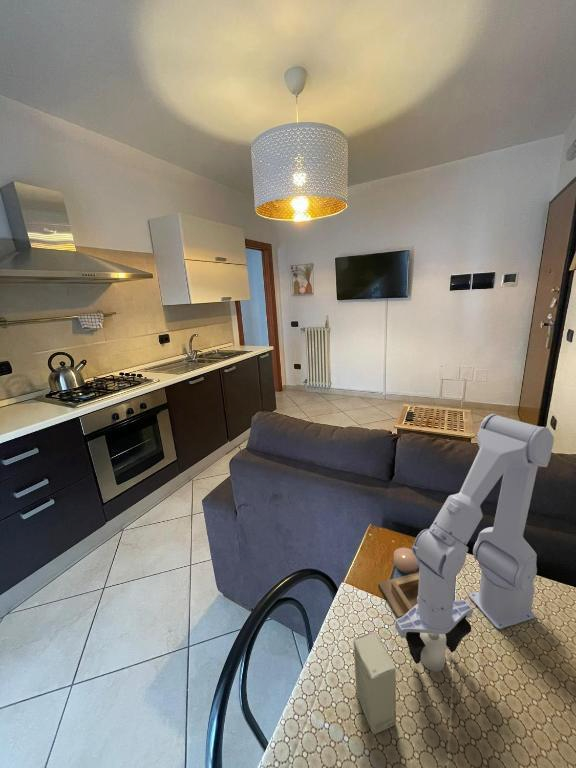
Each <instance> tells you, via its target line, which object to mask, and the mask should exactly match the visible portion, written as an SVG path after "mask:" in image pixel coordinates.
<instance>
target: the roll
mask: <svg viewBox="0 0 576 768" xmlns="http://www.w3.org/2000/svg"><path fill="white" fill-rule="evenodd" d="M420 637H421V639H422V640H423V642H424V644H425V645H426V646H425V647H424V648H423V649H422V652H421V660H420V663H421V664H422V665H423V667H425V668H426V669H427V670H429V671H430V672H434V673H439V672H441V671H443V669H444V668H445V664H446V663H445V661H446V649H447V645H446V635H445V634H432V633H420Z"/></svg>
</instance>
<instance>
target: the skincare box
mask: <svg viewBox="0 0 576 768" xmlns="http://www.w3.org/2000/svg"><path fill="white" fill-rule="evenodd" d="M353 653H354V654H353V655H354V656H353V657H354V658H353V659H354V673H355V674H354V675H355V694H356V696H357V699H358V702H359V704H360V706H361V709H362V711H363V714H364V716H365V718H366V721H367V723H368V726H369V727H370V730H371V732H372V734H373V735H376V734H378V733H381V732H383V731H385V730H387V729H389V728H391V727H393V726H396V724H397V700H396V699H397V697H396V696H397V695H396V694H397V693H396V690H397V688H396V687H397V686H396V681H397V680H396V666H395V664H394V662H393V660H392V658H391V657H390V655H389V652H388V651H387V649H386V647H385V646H384V644H383V642H382V641H381V638H380V637H379V636H378V634H377V632H375V631H372V632H371V633H367V634H365V635H362V636H359V637H356V638H354V639H353Z"/></svg>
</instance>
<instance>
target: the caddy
mask: <svg viewBox="0 0 576 768" xmlns="http://www.w3.org/2000/svg"><path fill="white" fill-rule="evenodd" d="M377 586H378V588H379V590H380V591H381V593H382V595H383V597H384V599H385V600H386V602H387V604H388V605H389V607H390V609H391V610H392V612H393V613H394V616H395V618H396V619H398V618H399V617H400V616H403V615H405V614H406V613H407V612H408V611H409V610H411V609H412V608H413V607H414V606H415V605H416V604H418V601H417V596H418V586H419V571H416V572H415V573H411V574H407V575H402V576H399V577H395V578H390V579H388V580H383V581H380V582H378V585H377Z"/></svg>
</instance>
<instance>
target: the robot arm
mask: <svg viewBox="0 0 576 768" xmlns="http://www.w3.org/2000/svg"><path fill="white" fill-rule="evenodd" d="M476 435H477V436H476V439H477V440H476V441H477V445H478V447H479V449H478V452H477V454H476V455H475V458H474V460H473V463H472V465H471V467H470V469H469V470H468V473H467V475H466V477H465V479H464V482H463V484H462V486H461V488H460V491H459V492H458V493H455V494H450V495H448V497H447V498H446V500H445V502H444V504H443V505H442V507H441V509H440V511H439V512H438V513H437V515H436V517H435V518H434V521H433V523H432V524H431V525H430V527H429V528H424V529H423V530H421V531H420V532H419V533H418V534H417V536H416V537H415V540H414V542H413V545H412V547H411V550H412V552H413V554H414V556H416V559H417V561H416V564H418V572H419V586H418V596H417V601H418V604H416V605H415V606H414V607H413V608H412V609H411V610H409V611H408V612H407V613H406V614H405V615H403V616H400V617H399V618H398V619H397V618H395V624H394V625H395V629H396V631H397V633H398V635H399V637H400V639H404V638H405V640H406V643H407V646H408V650H409V655H410V656H411V658H412V660H413V661H414V663H415V664H417V665H418V664H420V663H421V652H422V649H423V648H424V647H425V646H426V645H425V644H424V642H423V640H422V639H421V637H420V633H432V634H445V635H446V648H447V649H448V650H449V651H450V653H454V652H455V651H456V650H457V647H458V646H459V644H460V642H461V641H462V640H463V638H465V636H467V635H468V634H470V633H472V624H471V623H469V621H468V619H469V618H472V617H473V608H472V606H471V605H470V604H469V603H468V602H467V601H466V599H460V600H454V599H455V590H456V589H455V588H456V577H458V575H459V574H460V573H461V571H462V569H463V568H464V565H465V564H466V563H465V562H466V559H467V553H468V552H469V547H468V546H467V544H468V543H469V541H470V540H471V538H472V536H473V534H474V532H475V531H476V529H477V527H478V525H479V523H480V522H481V520H482V519H483V517H484V516H483V512H482V509H481V504H482V503H483V502H484V501H485V499H486V498H487V496H488V495H489V493H491V491H492V490H493V488H494V487H495V485H496V484H497V482H498V481H499V480H500V478H501V477H502V480H501V486H500V492H499V496H498V501H497V506H496V513H495V517H494V521H493V522H494V523H493V526H489V527H485V528H483V529H482V530H481V531H480V532H479V533H478V536H477V540H476V541H475V542H474V543H475V544H473V549H472V554H473V558H474V560H476V561H477V562H478V568H480V569H481V571H480V572H481V573H480V582H479V588H478V589H479V590H478V591H476V592H472V593H469V594H468V598H470V601H472V602H473V603H474V604H475V605H476V606H477V608H478V609H479V610H480V612H482V614H483V615H484V616H485V617H486V618H487V619H488V620H489V621H490V623H491V624H492V625H493V626H494V627H495V629H496V630H497V629H498V630H501V629H502V630H503V629H504V628H507V627H510V626H511V627H512V626H514V625H518V624H521V623H524V622H527V621H530V620H533V619H536V615H535V614H534V613H533V612H532V608H533V603H534V596H535V586H534V581H535V579H536V577H537V573H538V568H537V560H538V559H537V556H538V554H537V553H536V551H535V550H534V549H533V548H532V546H531V545H530V544H529V542H528V541H526V539H525V538H524V533H525V532H524V531H525V528H526V523H527V518H528V513H529V509H530V505H531V500H532V496H533V495H532V494H533V491H534V486H535V481H536V477H537V476H536V475H537V471H538V468H539V467H543V468H547V467H548V465H549V462H550V459H551V456H552V451H553V448H554V447H553V446H554V441H555V438H554V437H555V436H553V433H552V432H551V430H550V429H549V427H547V426H546V427H545V426H538V425H535V424H532V423H527V422H523V421H519V420H518V419H517V420H516V419H512V418H508V417H505V416H501V415H499V414H497V413H490V414H489V415H487V416H486V417H484V419H483V420H482V421H481V423H480V425H479V428H478V431H477V434H476Z"/></svg>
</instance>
